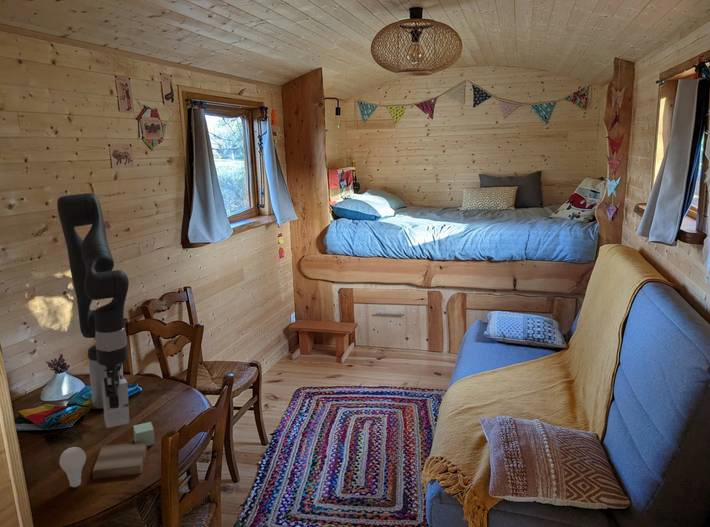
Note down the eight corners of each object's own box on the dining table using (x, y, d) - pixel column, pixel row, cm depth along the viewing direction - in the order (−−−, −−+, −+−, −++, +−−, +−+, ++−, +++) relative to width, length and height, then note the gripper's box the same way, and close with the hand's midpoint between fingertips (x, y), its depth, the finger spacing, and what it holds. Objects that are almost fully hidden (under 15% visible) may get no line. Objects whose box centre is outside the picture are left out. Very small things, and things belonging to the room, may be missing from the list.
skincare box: (106, 428, 145) (103, 387, 142) (104, 421, 148) (100, 381, 145) (130, 423, 148) (127, 382, 145) (127, 415, 151) (124, 376, 149)
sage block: (134, 440, 162) (133, 425, 161) (151, 436, 165) (150, 421, 164) (136, 448, 158) (135, 433, 157) (154, 444, 161) (153, 429, 159)
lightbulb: (68, 479, 143) (64, 442, 141) (92, 478, 144) (88, 442, 141) (58, 494, 137) (53, 455, 135) (83, 493, 138) (79, 455, 135)
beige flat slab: (103, 455, 155) (102, 445, 154) (147, 450, 158) (146, 441, 157) (93, 480, 144) (92, 470, 143) (141, 475, 147) (140, 465, 146)
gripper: (101, 336, 149) (106, 392, 152) (90, 355, 135) (96, 417, 139) (130, 334, 151) (134, 389, 154) (122, 353, 137) (127, 414, 141)
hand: (116, 402), depth 147 cm, fingers closed on skincare box, 5 cm apart
